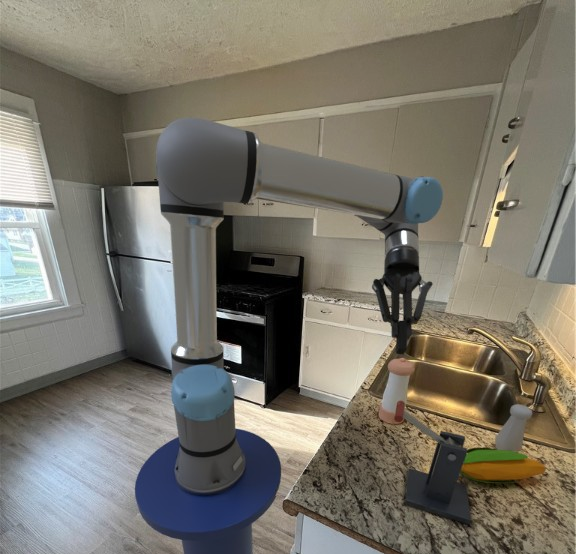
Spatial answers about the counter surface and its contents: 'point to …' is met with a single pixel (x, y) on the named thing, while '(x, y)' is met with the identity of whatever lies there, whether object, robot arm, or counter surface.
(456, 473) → the bracket
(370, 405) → the counter surface
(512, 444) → the salt shaker
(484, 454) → the corn
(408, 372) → the pepper shaker
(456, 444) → the lever
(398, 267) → the robot arm
